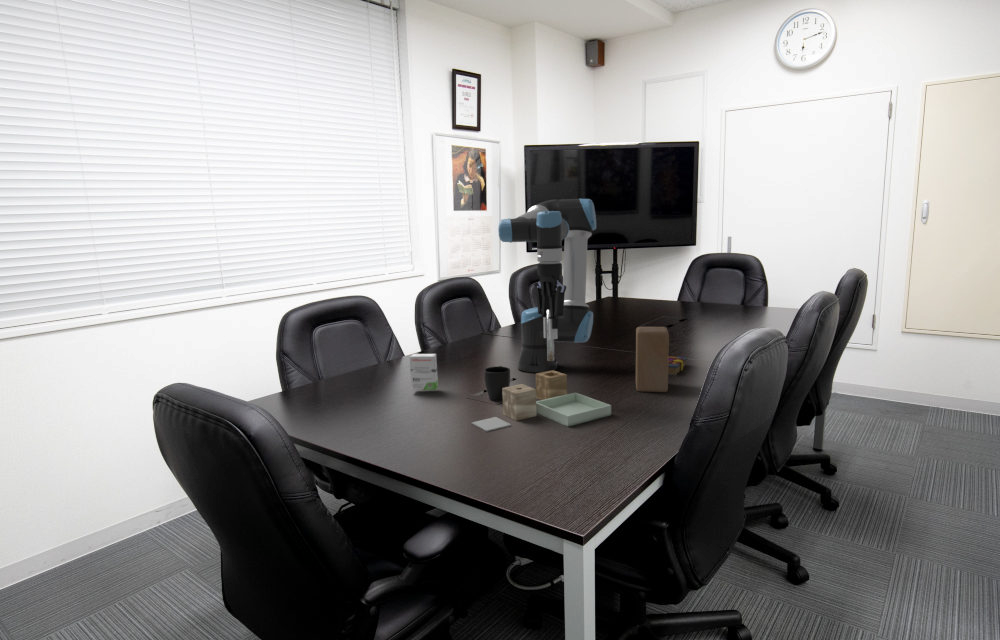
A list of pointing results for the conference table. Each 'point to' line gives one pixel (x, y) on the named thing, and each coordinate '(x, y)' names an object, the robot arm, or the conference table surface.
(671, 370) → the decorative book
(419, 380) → the ink box
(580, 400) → the sage tray
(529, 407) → the maple block
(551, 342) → the steel pin
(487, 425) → the mat
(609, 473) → the conference table surface
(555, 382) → the oak block
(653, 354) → the block
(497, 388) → the mug
